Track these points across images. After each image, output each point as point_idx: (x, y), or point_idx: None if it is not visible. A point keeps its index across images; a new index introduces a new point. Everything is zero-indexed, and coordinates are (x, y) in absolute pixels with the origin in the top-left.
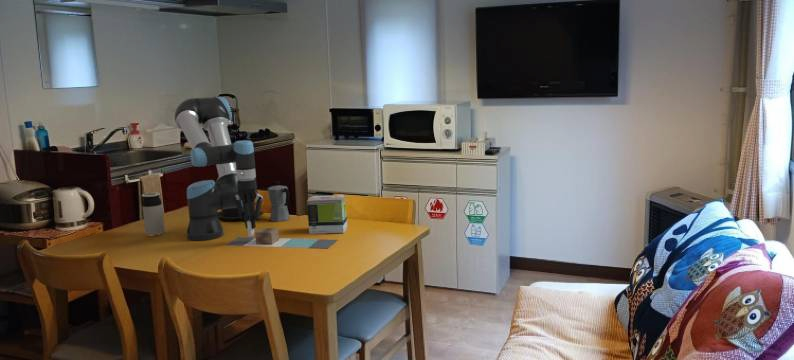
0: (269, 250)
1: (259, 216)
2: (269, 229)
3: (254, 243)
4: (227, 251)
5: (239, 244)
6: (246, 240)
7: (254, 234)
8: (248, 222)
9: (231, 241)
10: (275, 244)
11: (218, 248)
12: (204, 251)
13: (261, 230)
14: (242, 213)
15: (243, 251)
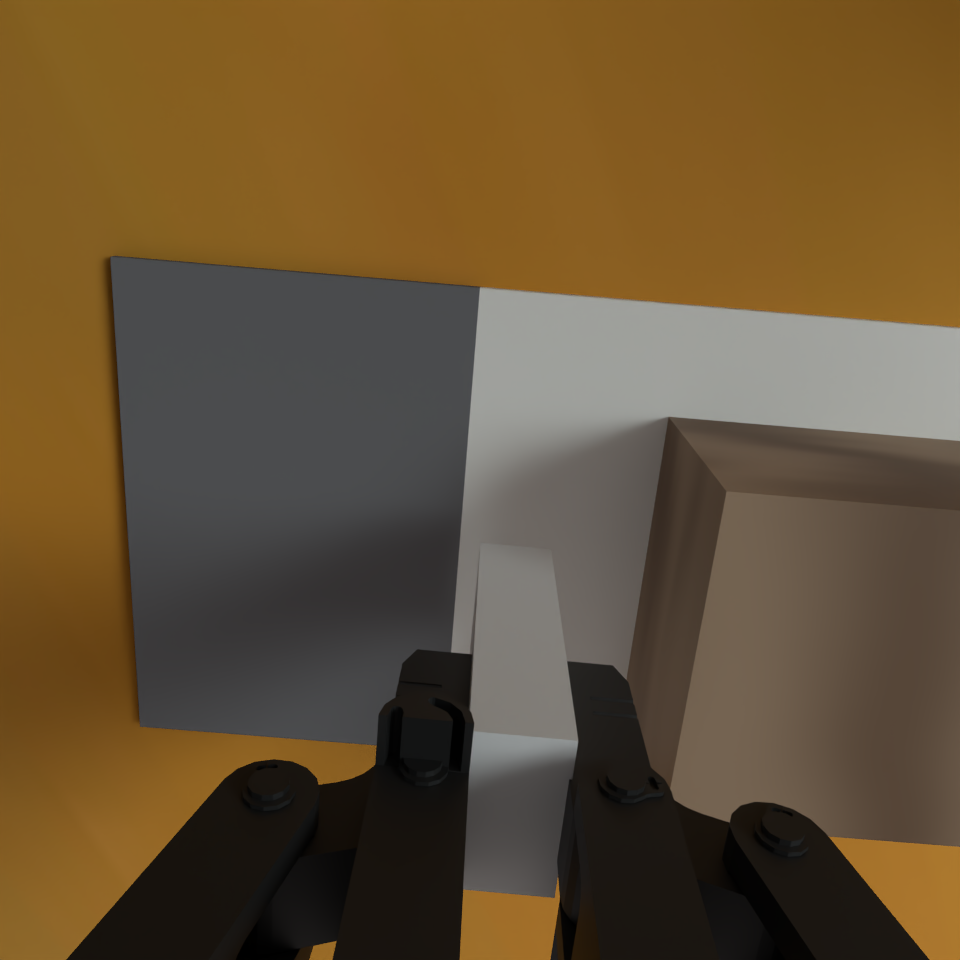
0: (903, 913)
1: (840, 865)
2: (934, 635)
3: (586, 645)
4: (329, 948)
5: (358, 693)
6: (373, 478)
7: (551, 559)
8: (496, 870)
9: (134, 538)
10: None
11: (126, 837)
12: (13, 948)
13: (766, 709)
14: (188, 915)
15: (550, 949)
